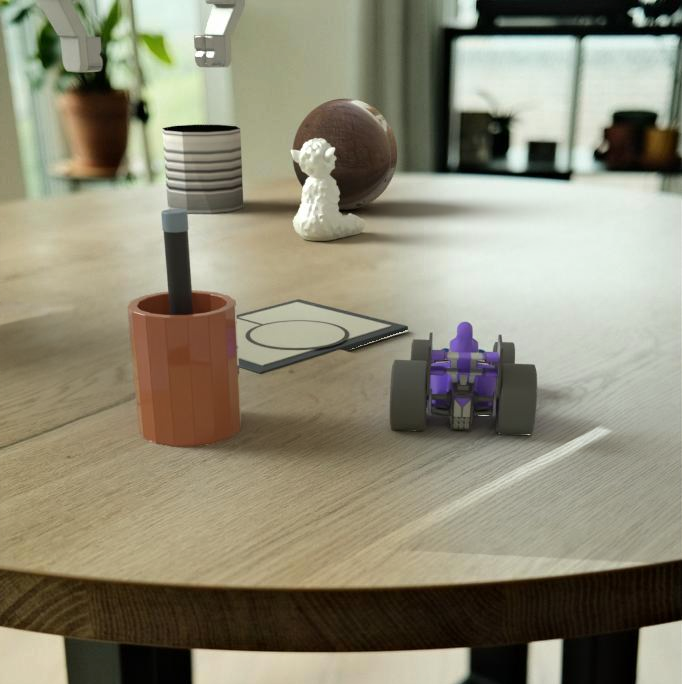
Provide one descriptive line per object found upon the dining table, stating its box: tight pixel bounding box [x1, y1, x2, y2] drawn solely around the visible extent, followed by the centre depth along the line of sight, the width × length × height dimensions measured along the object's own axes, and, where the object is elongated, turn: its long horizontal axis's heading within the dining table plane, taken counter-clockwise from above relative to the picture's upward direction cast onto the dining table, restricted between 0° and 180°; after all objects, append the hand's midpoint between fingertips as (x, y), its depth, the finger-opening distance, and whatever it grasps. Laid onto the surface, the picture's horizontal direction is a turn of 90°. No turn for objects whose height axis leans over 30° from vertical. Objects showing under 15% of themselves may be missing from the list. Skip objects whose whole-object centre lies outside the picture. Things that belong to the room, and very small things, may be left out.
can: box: [161, 123, 244, 215], centre depth 148 cm, size 11×11×12 cm
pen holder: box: [127, 289, 242, 448], centre depth 67 cm, size 7×7×9 cm
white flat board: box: [237, 298, 409, 375], centre depth 89 cm, size 14×18×1 cm
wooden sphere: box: [292, 98, 398, 211], centre depth 146 cm, size 15×15×15 cm
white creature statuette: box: [290, 138, 366, 242], centre depth 128 cm, size 10×9×12 cm
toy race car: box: [389, 321, 538, 435], centre depth 73 cm, size 10×15×6 cm, turn 174°
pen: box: [160, 208, 193, 315], centre depth 66 cm, size 2×2×14 cm
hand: (151, 69), depth 60 cm, fingers open, 8 cm apart
